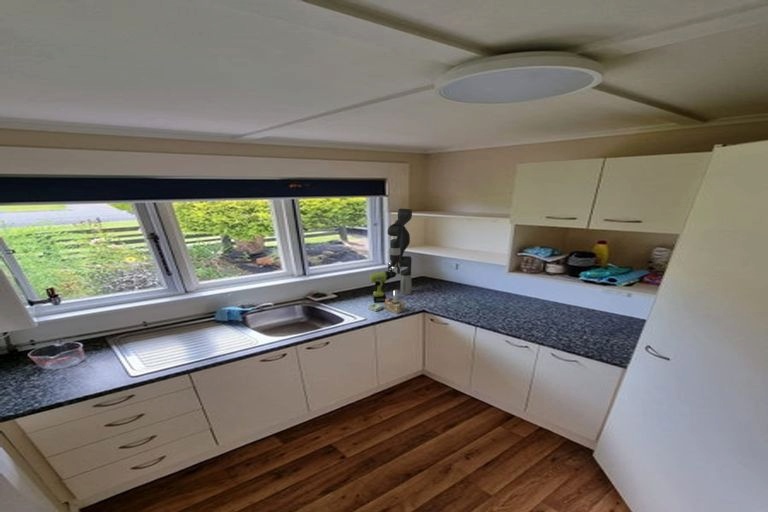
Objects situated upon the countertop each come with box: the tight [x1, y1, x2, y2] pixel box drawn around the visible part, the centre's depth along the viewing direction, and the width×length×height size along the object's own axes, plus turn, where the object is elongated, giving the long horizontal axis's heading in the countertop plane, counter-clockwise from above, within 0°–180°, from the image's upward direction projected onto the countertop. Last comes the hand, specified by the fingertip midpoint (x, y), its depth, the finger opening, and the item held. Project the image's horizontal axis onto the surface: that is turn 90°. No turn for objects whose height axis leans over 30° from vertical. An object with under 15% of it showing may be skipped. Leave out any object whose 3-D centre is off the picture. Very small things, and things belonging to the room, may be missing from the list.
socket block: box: [385, 299, 406, 315], centre depth 234 cm, size 10×10×6 cm
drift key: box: [384, 297, 392, 309], centre depth 238 cm, size 3×3×7 cm
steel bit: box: [392, 289, 399, 304], centre depth 233 cm, size 3×3×16 cm
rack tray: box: [367, 303, 384, 312], centre depth 237 cm, size 8×8×2 cm
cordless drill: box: [369, 270, 398, 304], centre depth 252 cm, size 23×7×25 cm, turn 99°
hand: (395, 274), depth 228 cm, fingers open, 8 cm apart
